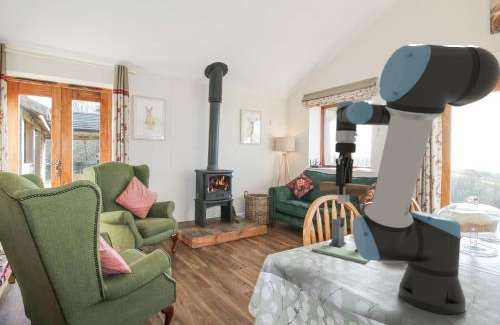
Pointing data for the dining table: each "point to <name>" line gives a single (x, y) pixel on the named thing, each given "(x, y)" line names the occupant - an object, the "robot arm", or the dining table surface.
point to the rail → (350, 189)
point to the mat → (340, 253)
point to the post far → (338, 232)
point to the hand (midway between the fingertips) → (343, 202)
